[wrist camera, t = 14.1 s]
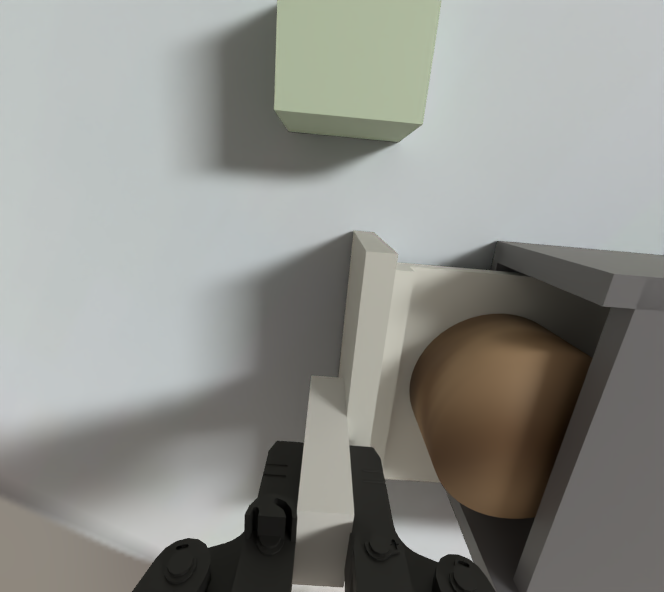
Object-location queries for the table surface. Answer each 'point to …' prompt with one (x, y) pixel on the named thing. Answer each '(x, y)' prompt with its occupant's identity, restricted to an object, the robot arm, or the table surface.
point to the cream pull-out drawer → (428, 338)
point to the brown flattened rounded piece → (496, 409)
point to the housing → (593, 442)
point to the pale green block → (354, 66)
